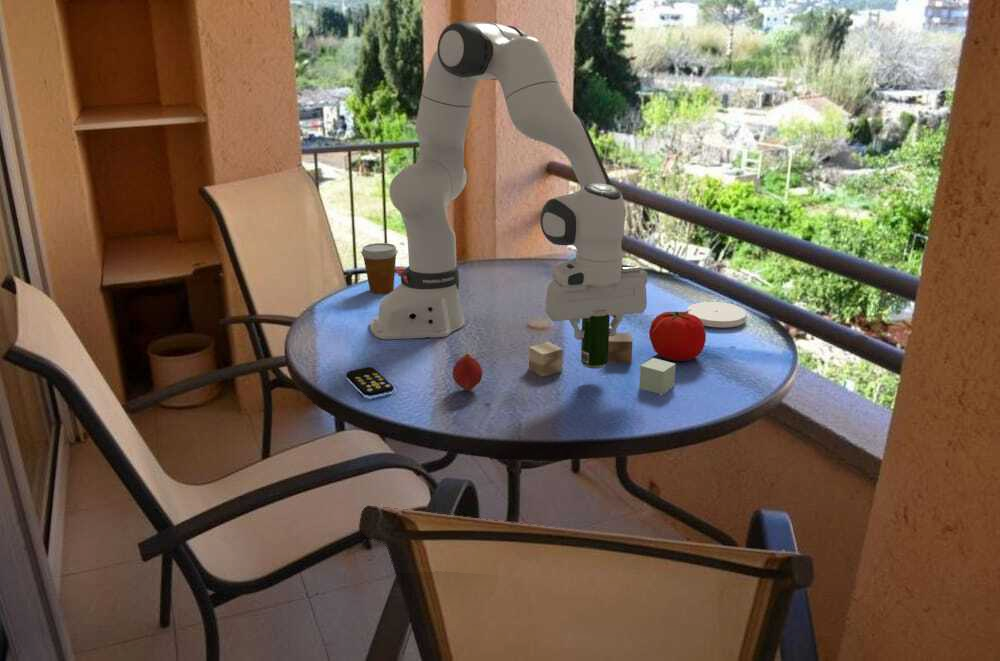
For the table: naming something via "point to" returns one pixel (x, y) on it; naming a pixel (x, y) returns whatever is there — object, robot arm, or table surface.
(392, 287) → the disposable coffee cup
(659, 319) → the tomato
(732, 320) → the plastic lid
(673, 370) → the sage painted block
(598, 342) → the beer can
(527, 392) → the table surface
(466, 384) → the onion
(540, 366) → the beech block
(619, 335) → the walnut block
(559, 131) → the robot arm
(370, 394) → the remote control
